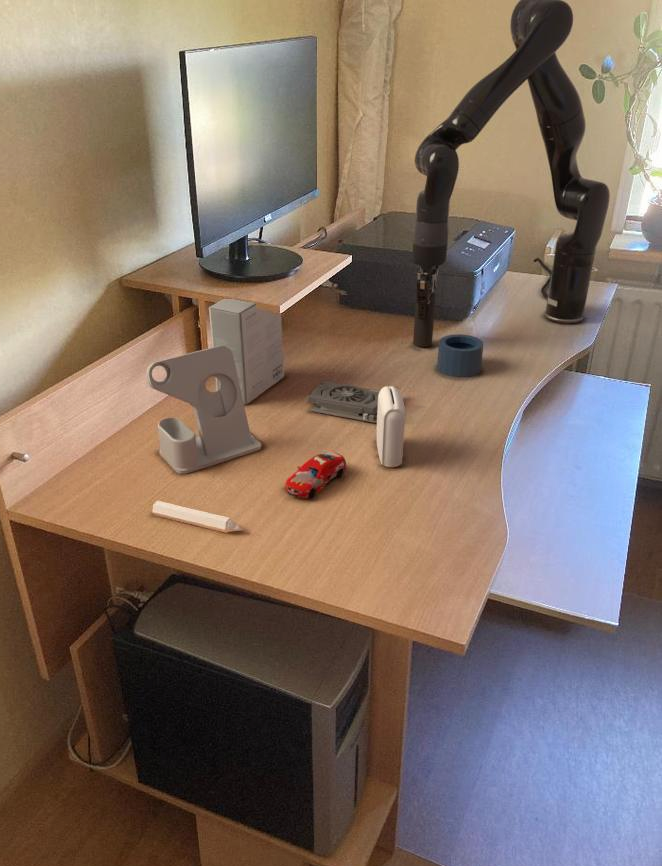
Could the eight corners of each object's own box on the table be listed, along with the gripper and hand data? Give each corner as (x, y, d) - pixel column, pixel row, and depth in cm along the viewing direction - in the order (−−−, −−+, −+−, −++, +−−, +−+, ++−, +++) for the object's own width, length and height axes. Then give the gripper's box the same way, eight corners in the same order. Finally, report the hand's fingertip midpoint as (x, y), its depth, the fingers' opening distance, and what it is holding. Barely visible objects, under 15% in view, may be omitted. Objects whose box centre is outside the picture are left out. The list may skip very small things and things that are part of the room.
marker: (244, 539, 122) (156, 516, 127) (249, 527, 123) (161, 505, 128) (240, 532, 120) (150, 509, 125) (245, 520, 121) (155, 498, 126)
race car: (303, 505, 129) (303, 485, 127) (279, 494, 132) (278, 473, 130) (351, 471, 137) (352, 452, 135) (327, 462, 140) (327, 442, 138)
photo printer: (374, 440, 147) (376, 380, 140) (397, 439, 147) (400, 379, 140) (379, 468, 138) (382, 406, 131) (403, 468, 138) (407, 405, 131)
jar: (440, 359, 177) (442, 332, 174) (482, 364, 175) (486, 336, 171) (433, 376, 170) (435, 348, 166) (477, 381, 167) (481, 353, 164)
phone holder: (178, 476, 137) (167, 382, 127) (155, 451, 144) (142, 361, 134) (263, 448, 145) (259, 358, 135) (237, 426, 152) (232, 339, 142)
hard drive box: (255, 370, 174) (251, 282, 163) (285, 377, 170) (282, 288, 160) (215, 398, 162) (207, 305, 152) (246, 406, 159) (240, 312, 148)
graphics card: (403, 384, 159) (383, 408, 149) (402, 401, 160) (382, 426, 151) (326, 372, 165) (303, 394, 155) (326, 388, 167) (303, 411, 157)
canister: (414, 338, 186) (418, 289, 179) (433, 340, 185) (437, 291, 178) (411, 345, 182) (414, 295, 176) (430, 347, 181) (434, 297, 175)
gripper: (442, 250, 164) (435, 328, 173) (452, 233, 175) (445, 306, 184) (407, 248, 166) (402, 324, 175) (419, 230, 177) (414, 303, 186)
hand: (424, 315), depth 180 cm, fingers closed on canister, 4 cm apart
